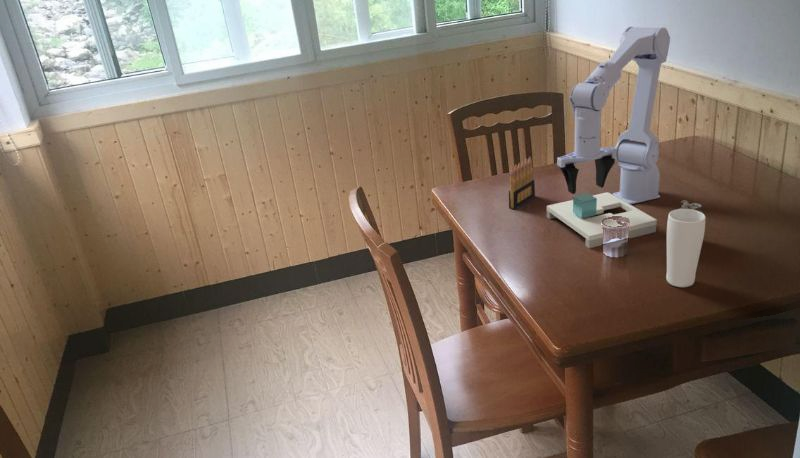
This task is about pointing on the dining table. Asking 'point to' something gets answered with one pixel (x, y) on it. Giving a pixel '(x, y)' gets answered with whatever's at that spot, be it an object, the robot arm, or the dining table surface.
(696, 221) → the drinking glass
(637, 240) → the dining table surface
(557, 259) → the dining table surface
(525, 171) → the ammunition clip
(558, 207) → the keyhole plate
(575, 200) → the peg
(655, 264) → the dining table surface
